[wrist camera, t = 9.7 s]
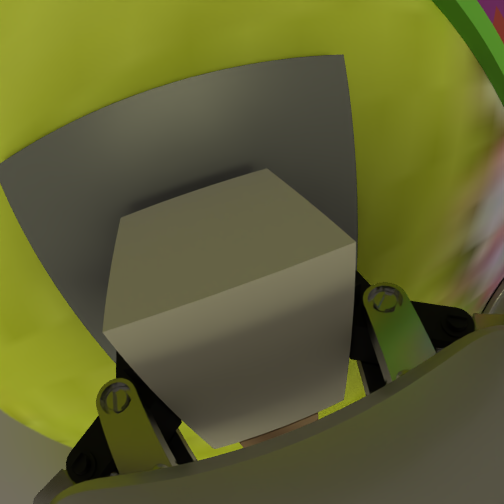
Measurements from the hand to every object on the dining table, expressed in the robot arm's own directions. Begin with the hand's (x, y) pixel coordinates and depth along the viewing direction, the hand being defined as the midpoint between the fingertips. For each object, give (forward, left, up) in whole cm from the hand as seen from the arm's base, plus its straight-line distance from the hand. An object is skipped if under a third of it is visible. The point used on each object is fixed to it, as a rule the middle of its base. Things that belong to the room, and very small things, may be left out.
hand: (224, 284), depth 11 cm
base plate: (0, 0, -3) cm, 3 cm away
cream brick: (0, 0, -1) cm, 1 cm away
